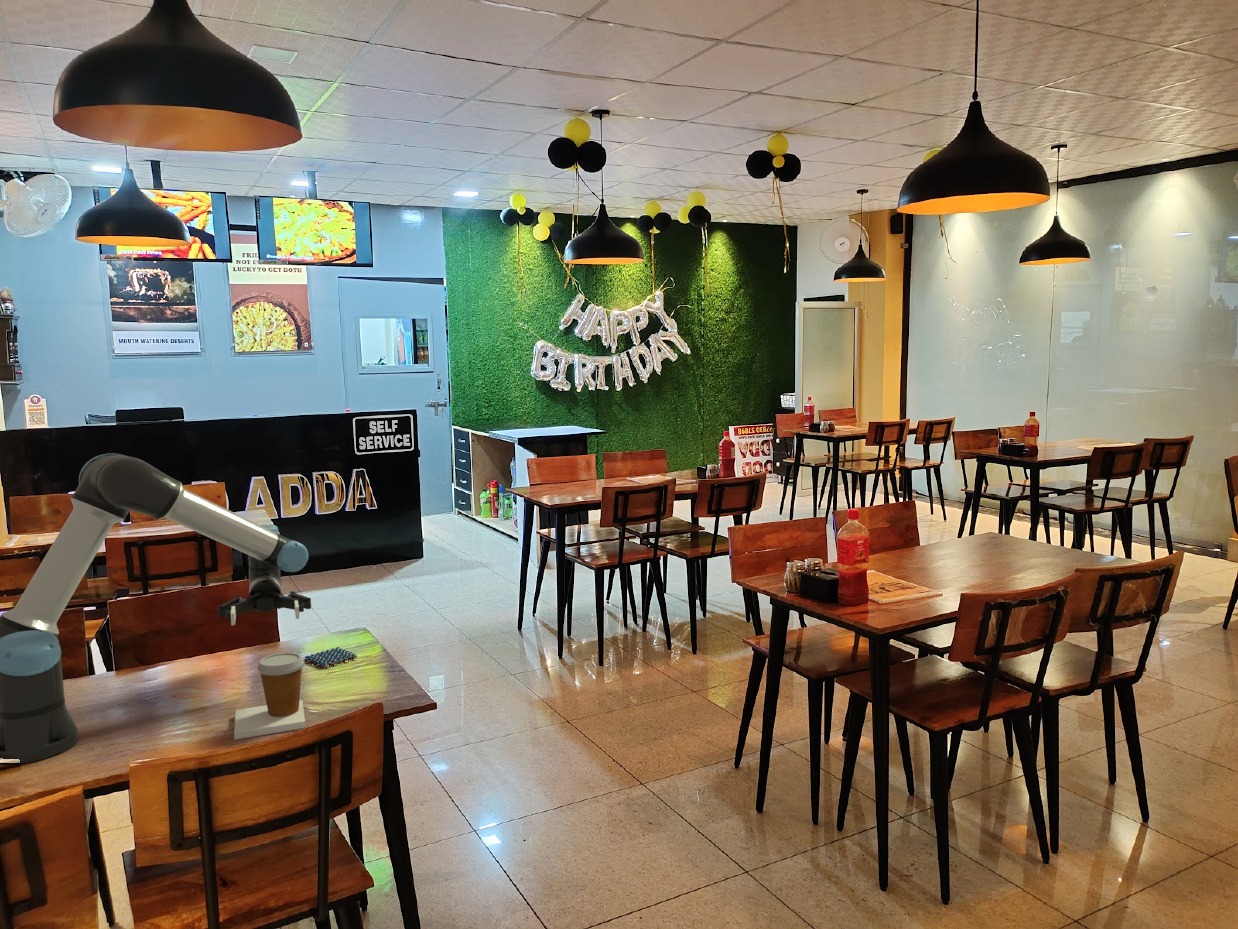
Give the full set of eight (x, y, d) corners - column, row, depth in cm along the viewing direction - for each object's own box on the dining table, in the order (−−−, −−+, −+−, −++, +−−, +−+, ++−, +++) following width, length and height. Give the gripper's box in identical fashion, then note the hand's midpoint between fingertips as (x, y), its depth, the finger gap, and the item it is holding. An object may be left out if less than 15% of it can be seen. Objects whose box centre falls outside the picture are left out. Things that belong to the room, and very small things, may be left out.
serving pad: (234, 739, 181) (234, 732, 181) (236, 716, 193) (235, 710, 193) (305, 728, 186) (305, 721, 186) (302, 706, 198) (302, 699, 198)
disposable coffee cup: (294, 720, 186) (290, 667, 185) (252, 719, 187) (248, 666, 186) (314, 703, 196) (311, 652, 194) (274, 702, 197) (270, 651, 195)
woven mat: (301, 663, 228) (301, 656, 228) (338, 653, 236) (337, 645, 236) (322, 672, 221) (321, 665, 221) (358, 661, 229) (358, 654, 229)
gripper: (318, 603, 221) (323, 626, 201) (211, 614, 211) (205, 638, 192) (317, 575, 220) (322, 594, 201) (209, 584, 211) (204, 605, 191)
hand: (265, 616), depth 196 cm, fingers open, 13 cm apart
